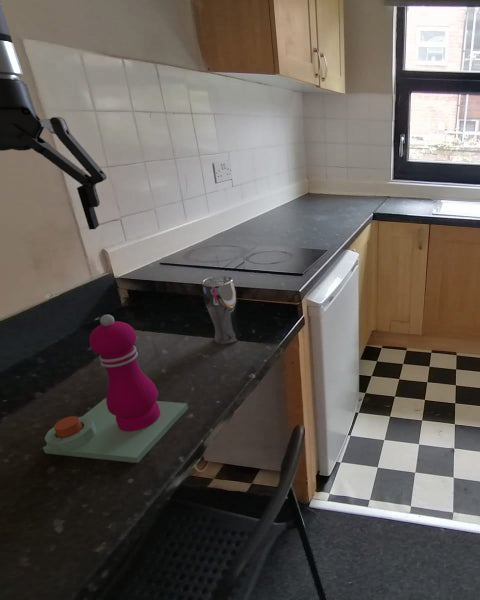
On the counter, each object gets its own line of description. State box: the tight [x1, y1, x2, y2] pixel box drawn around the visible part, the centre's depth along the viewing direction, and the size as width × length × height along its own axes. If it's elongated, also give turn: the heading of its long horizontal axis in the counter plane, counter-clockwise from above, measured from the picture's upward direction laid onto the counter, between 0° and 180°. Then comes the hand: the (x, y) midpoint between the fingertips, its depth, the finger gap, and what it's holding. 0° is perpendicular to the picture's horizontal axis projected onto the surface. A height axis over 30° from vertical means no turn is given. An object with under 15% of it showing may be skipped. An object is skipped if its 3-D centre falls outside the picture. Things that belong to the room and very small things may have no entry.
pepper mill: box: [88, 314, 160, 431], centre depth 65 cm, size 7×7×20 cm
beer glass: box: [200, 275, 243, 345], centre depth 94 cm, size 7×7×15 cm
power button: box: [53, 415, 82, 438], centre depth 64 cm, size 3×3×2 cm
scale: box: [42, 397, 189, 464], centre depth 68 cm, size 16×14×3 cm
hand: (42, 231), depth 63 cm, fingers open, 13 cm apart
